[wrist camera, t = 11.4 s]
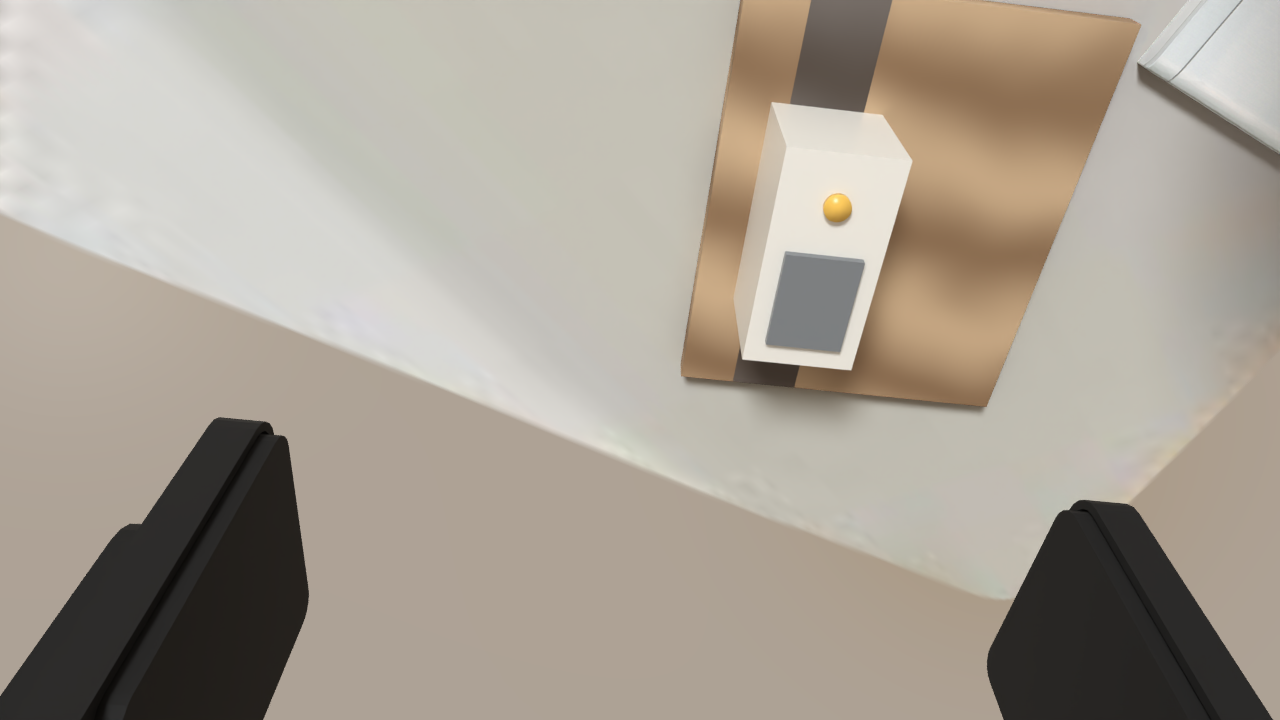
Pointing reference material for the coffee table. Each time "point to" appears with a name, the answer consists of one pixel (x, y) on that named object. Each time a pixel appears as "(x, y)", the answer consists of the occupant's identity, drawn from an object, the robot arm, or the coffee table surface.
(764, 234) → the stud finder
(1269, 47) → the hard drive
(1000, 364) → the subfloor board
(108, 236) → the coffee table surface
